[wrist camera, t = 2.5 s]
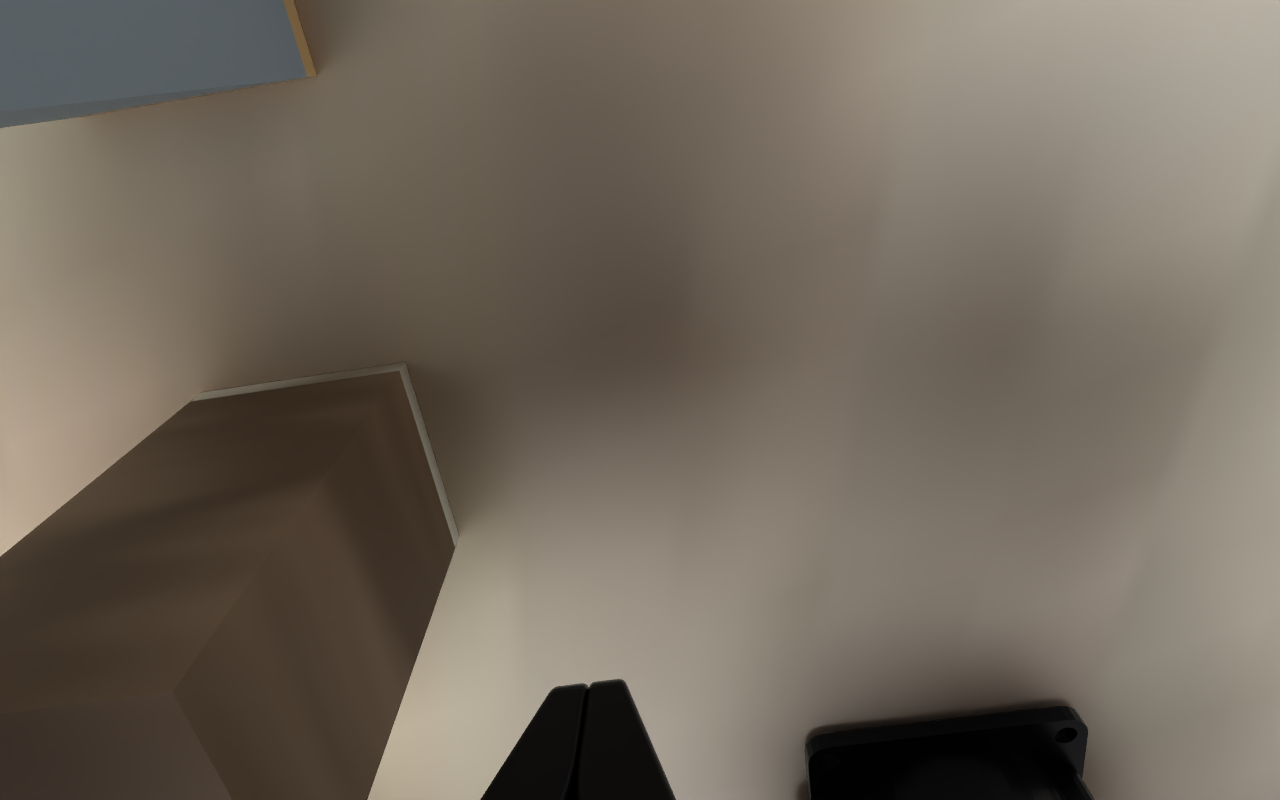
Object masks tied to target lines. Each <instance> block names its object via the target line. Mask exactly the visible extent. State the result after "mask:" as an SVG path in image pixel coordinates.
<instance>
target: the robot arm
mask: <svg viewBox="0 0 1280 800" xmlns="http://www.w3.org/2000/svg"><path fill="white" fill-rule="evenodd" d="M1087 737H1088V729H1087V726H1086V725H1085V723H1084V722H1083V720H1082V719H1081V717H1080V716H1079V714H1078V713H1077V712H1076V711H1075V710H1074V709H1073V708H1070V707H1067V706H1057V707H1048V708H1040V709H1031V710H1023V711H1014V712H1005V713H997V714H988V715H980V716H971V717H962V718H954V719H945V720H937V721H928V722H920V723H911V724H902V725H894V726H885V727H877V728H868V729H860V730H851V731H842V732H834V733H825V734H821V735H817V736H815V737H813V738H812V739H810V740H809V741H808V743H807V744H806V747H805V759H806V771H807V782H808V794H809V800H1095V799H1094V798H1093V796H1092V795H1091V793H1090V791H1089V790H1088V788H1087V786H1086V785H1085V783H1084V781H1083V780H1082V774H1083V767H1084V759H1085V752H1086V745H1087ZM826 755H827V756H826ZM481 800H676V798H675V796H674V794H673V791H672V789H671V787H670V784H669V782H668V780H667V777H666V775H665V773H664V771H663V768H662V766H661V764H660V761H659V759H658V757H657V754H656V752H655V750H654V747H653V745H652V743H651V740H650V738H649V736H648V733H647V731H646V729H645V726H644V724H643V722H642V719H641V717H640V715H639V712H638V710H637V708H636V705H635V703H634V701H633V698H632V696H631V694H630V691H629V689H628V687H627V684H626V683H625V681H624V680H622V679H615V680H607V681H598V682H593V683H592V684H591V685H590V687H588V685H586V684H573V685H565V686H558V687H555V688H554V689H552V690H551V691H550V693H549V694H548V696H547V697H546V699H545V700H544V702H543V703H542V705H541V706H540V708H539V710H538V711H537V713H536V714H535V716H534V717H533V719H532V720H531V722H530V724H529V725H528V727H527V728H526V730H525V731H524V733H523V734H522V736H521V738H520V739H519V741H518V742H517V744H516V745H515V747H514V748H513V750H512V752H511V753H510V755H509V756H508V758H507V759H506V761H505V762H504V764H503V765H502V767H501V769H500V770H499V772H498V773H497V775H496V776H495V778H494V779H493V781H492V783H491V784H490V786H489V787H488V789H487V790H486V792H485V793H484V795H483V797H482V798H481Z"/></svg>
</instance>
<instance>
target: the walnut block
mask: <svg viewBox="0 0 1280 800" xmlns="http://www.w3.org/2000/svg"><path fill="white" fill-rule="evenodd" d="M458 539H459V534H458V531H457V528H456V524H455V521H454V518H453V515H452V511H451V508H450V505H449V502H448V499H447V495H446V492H445V489H444V486H443V482H442V479H441V476H440V473H439V469H438V466H437V463H436V460H435V457H434V453H433V450H432V447H431V444H430V440H429V437H428V434H427V431H426V427H425V424H424V421H423V418H422V414H421V411H420V408H419V405H418V402H417V398H416V395H415V392H414V389H413V385H412V382H411V379H410V376H409V372H408V369H407V366H406V363H405V362H403V363H396V364H390V365H383V366H376V367H370V368H363V369H356V370H349V371H343V372H336V373H329V374H322V375H316V376H309V377H302V378H295V379H289V380H282V381H275V382H269V383H262V384H255V385H248V386H242V387H235V388H228V389H221V390H215V391H208V392H202V393H200V394H199V395H198V396H197V397H195V398H194V399H193V400H192V401H191V402H189V403H188V404H187V405H186V406H184V407H183V408H182V409H181V410H180V411H178V412H177V413H176V414H175V415H173V416H172V417H171V418H170V419H168V420H167V421H166V422H165V423H164V424H162V425H161V426H160V427H159V428H157V429H156V430H155V431H154V432H153V433H151V434H150V435H149V436H148V437H146V438H145V439H144V440H143V441H142V442H140V443H139V444H138V445H137V446H135V447H134V448H133V449H132V450H131V451H129V452H128V453H127V454H126V455H124V456H123V457H122V458H121V459H120V460H118V461H117V462H116V463H115V464H113V465H112V466H111V467H110V468H108V469H107V470H106V471H105V472H104V473H102V474H101V475H100V476H99V477H97V478H96V479H95V480H94V481H93V482H91V483H90V484H89V485H88V486H86V487H85V488H84V489H83V490H82V491H80V492H79V493H78V494H77V495H75V496H74V497H73V498H72V499H71V500H69V501H68V502H67V503H66V504H64V505H63V506H62V507H61V508H59V509H58V510H57V511H56V512H55V513H53V514H52V515H51V516H50V517H48V518H47V519H46V520H45V521H44V522H42V523H41V524H40V525H39V526H37V527H36V528H35V529H34V530H33V531H31V532H30V533H29V534H28V535H26V536H25V537H24V538H23V539H22V540H20V541H19V542H18V543H17V544H15V545H14V546H13V547H12V548H11V549H9V550H8V551H7V552H6V553H4V554H3V555H2V556H1V557H0V800H367V799H368V796H369V793H370V790H371V787H372V784H373V781H374V779H375V776H376V773H377V770H378V767H379V764H380V761H381V759H382V756H383V753H384V750H385V747H386V744H387V741H388V739H389V736H390V733H391V730H392V727H393V724H394V721H395V719H396V716H397V713H398V710H399V707H400V704H401V701H402V699H403V696H404V693H405V690H406V687H407V684H408V681H409V679H410V676H411V673H412V670H413V667H414V664H415V661H416V659H417V656H418V653H419V650H420V647H421V644H422V641H423V639H424V636H425V633H426V630H427V627H428V624H429V621H430V619H431V616H432V613H433V610H434V607H435V604H436V601H437V599H438V596H439V593H440V590H441V587H442V584H443V581H444V579H445V576H446V573H447V570H448V567H449V564H450V561H451V559H452V556H453V553H454V550H455V547H456V544H457V541H458Z"/></svg>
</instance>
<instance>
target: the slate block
mask: <svg viewBox="0 0 1280 800" xmlns="http://www.w3.org/2000/svg"><path fill="white" fill-rule="evenodd" d="M315 76H317V75H316V71H315V68H314V65H313V62H312V58H311V55H310V52H309V49H308V46H307V42H306V39H305V36H304V33H303V29H302V26H301V23H300V20H299V16H298V13H297V10H296V7H295V4H294V0H0V128H3V127H11V126H18V125H25V124H32V123H40V122H47V121H54V120H61V119H69V118H76V117H83V116H88V115H94V114H100V113H106V112H112V111H117V110H123V109H129V108H135V107H141V106H146V105H152V104H158V103H164V102H170V101H175V100H181V99H187V98H193V97H199V96H204V95H210V94H216V93H222V92H228V91H233V90H239V89H245V88H251V87H257V86H262V85H268V84H274V83H280V82H286V81H292V80H297V79H303V78H309V77H315Z"/></svg>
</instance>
